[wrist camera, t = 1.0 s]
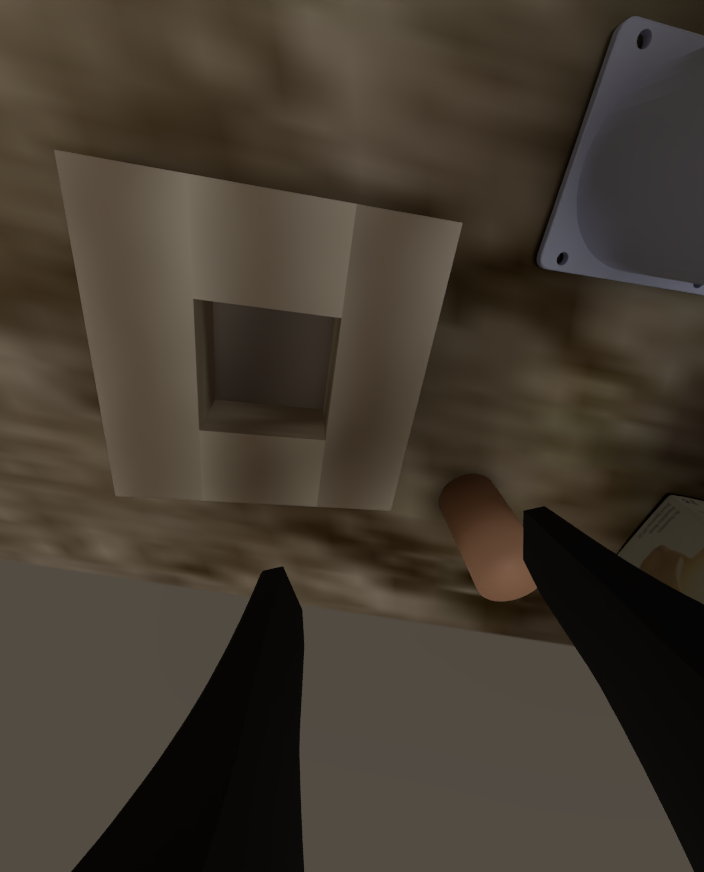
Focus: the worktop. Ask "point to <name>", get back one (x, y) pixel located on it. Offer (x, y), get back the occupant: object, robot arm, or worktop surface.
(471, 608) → the worktop surface
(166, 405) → the socket block
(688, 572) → the skincare box
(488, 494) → the peg
